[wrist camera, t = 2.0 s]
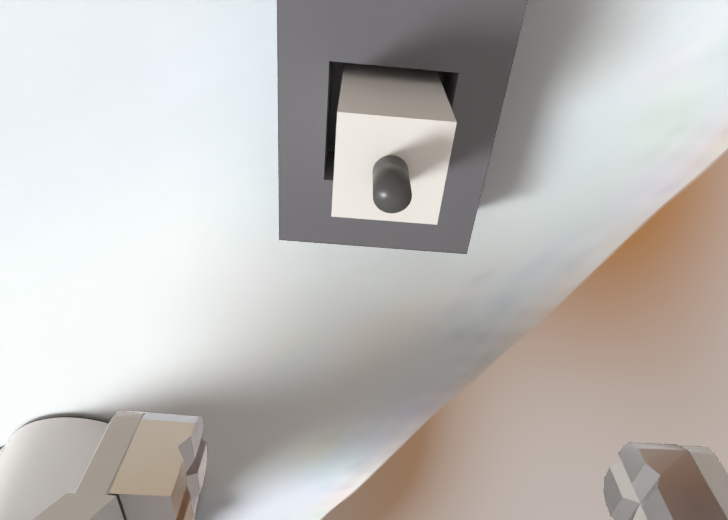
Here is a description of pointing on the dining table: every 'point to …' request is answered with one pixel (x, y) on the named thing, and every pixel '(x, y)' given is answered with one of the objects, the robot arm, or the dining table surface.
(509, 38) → the power strip
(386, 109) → the plug
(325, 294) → the dining table surface
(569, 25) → the dining table surface
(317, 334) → the dining table surface
